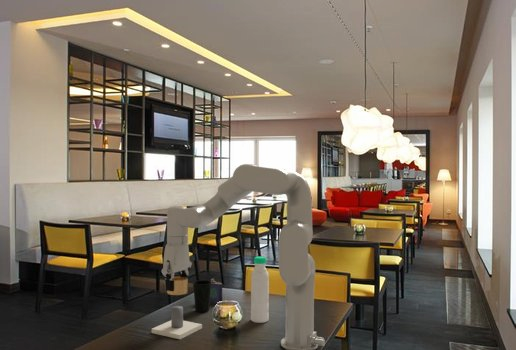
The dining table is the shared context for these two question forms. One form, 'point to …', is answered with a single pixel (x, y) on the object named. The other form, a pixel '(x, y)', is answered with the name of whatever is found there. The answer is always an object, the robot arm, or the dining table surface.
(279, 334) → the dining table surface
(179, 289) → the collar
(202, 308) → the cup
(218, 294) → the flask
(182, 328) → the stand
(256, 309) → the water bottle
